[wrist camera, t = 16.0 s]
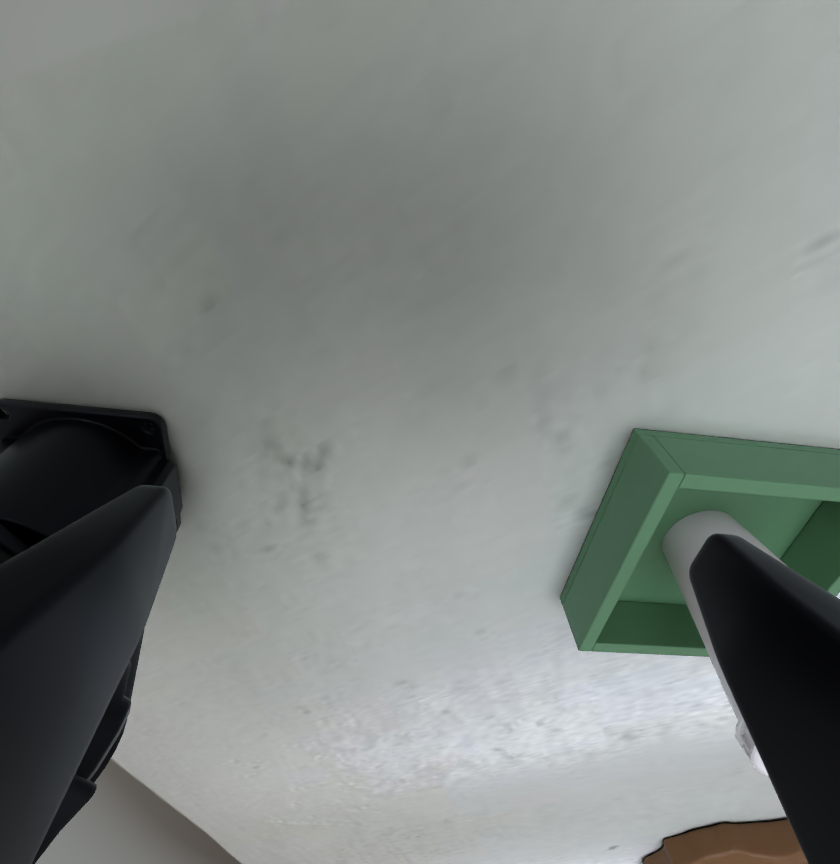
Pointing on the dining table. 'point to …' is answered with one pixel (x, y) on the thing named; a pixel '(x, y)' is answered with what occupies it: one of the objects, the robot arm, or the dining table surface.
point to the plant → (733, 845)
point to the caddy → (684, 495)
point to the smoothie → (680, 554)
